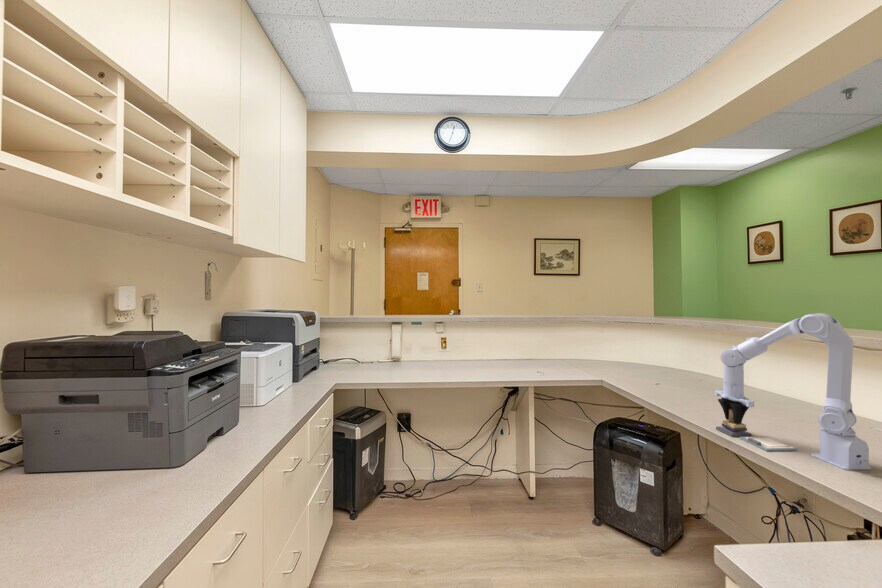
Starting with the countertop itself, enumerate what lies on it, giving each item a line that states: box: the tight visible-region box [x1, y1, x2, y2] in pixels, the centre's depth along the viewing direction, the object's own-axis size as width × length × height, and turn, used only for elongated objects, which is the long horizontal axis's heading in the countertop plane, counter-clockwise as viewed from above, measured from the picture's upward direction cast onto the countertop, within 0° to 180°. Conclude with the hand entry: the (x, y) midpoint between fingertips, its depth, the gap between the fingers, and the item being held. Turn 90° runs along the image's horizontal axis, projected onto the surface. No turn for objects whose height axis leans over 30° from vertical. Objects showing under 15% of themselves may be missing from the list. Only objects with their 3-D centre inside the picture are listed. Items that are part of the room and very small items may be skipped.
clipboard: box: [739, 435, 798, 452], centre depth 121 cm, size 10×10×1 cm
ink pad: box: [715, 425, 752, 438], centre depth 131 cm, size 7×7×1 cm
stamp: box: [721, 409, 748, 432], centre depth 131 cm, size 5×5×6 cm
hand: (733, 421), depth 131 cm, fingers closed on stamp, 3 cm apart
